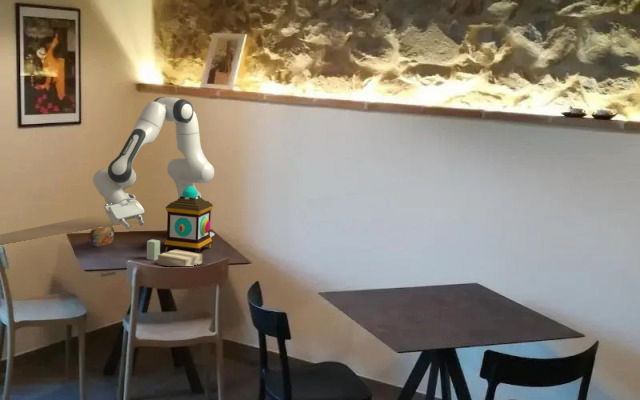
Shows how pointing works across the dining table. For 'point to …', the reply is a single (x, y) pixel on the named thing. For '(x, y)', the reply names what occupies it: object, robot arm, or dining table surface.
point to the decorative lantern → (188, 222)
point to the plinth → (179, 258)
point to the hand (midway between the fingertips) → (135, 226)
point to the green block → (153, 249)
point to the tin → (101, 236)
